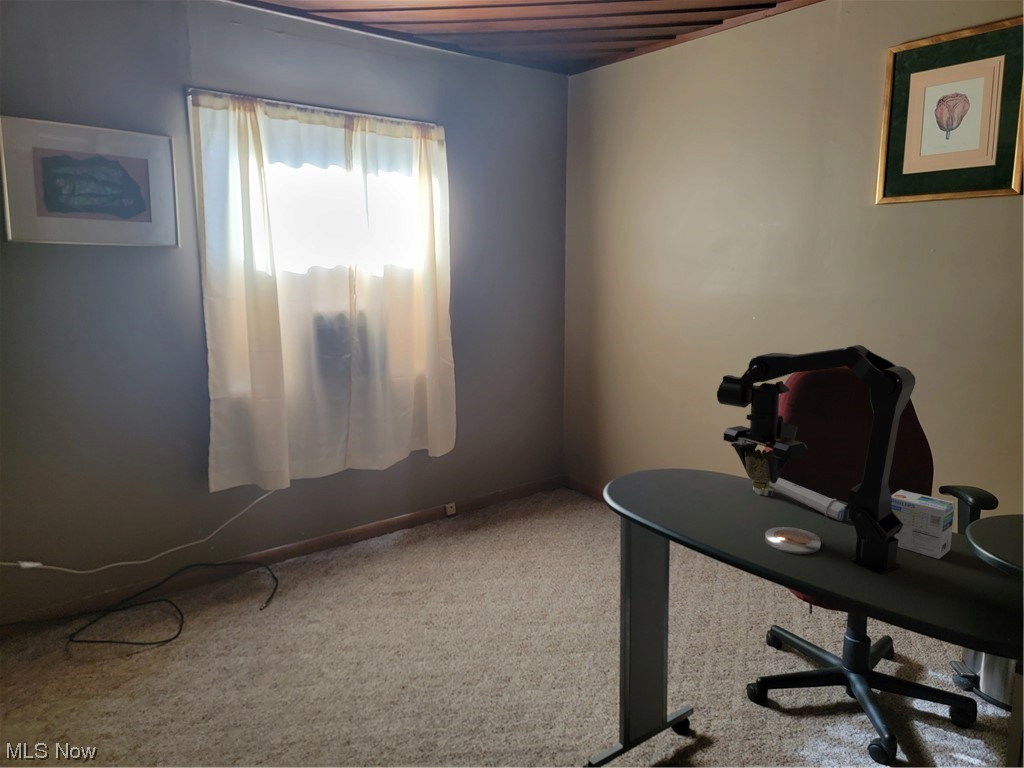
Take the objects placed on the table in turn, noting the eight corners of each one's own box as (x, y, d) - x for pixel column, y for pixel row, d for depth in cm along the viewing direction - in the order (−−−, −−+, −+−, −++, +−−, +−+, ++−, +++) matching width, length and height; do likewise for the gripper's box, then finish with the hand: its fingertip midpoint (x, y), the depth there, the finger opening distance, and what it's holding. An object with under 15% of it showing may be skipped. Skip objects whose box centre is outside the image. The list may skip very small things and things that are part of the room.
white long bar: (840, 508, 151) (750, 465, 171) (834, 534, 154) (746, 488, 173) (853, 503, 154) (764, 462, 174) (847, 529, 156) (759, 485, 176)
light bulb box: (950, 550, 138) (957, 501, 136) (940, 560, 134) (946, 509, 132) (895, 534, 146) (900, 488, 144) (883, 543, 142) (888, 495, 140)
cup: (739, 482, 153) (740, 448, 151) (771, 481, 152) (773, 448, 151) (749, 493, 145) (750, 458, 144) (783, 493, 145) (785, 457, 144)
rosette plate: (831, 546, 140) (832, 541, 140) (795, 558, 135) (796, 552, 135) (789, 528, 150) (789, 522, 150) (753, 538, 145) (754, 532, 145)
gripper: (826, 414, 141) (822, 484, 144) (757, 399, 157) (755, 462, 160) (789, 421, 136) (786, 493, 139) (722, 405, 152) (720, 470, 155)
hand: (761, 478), depth 149 cm, fingers closed on cup, 6 cm apart
